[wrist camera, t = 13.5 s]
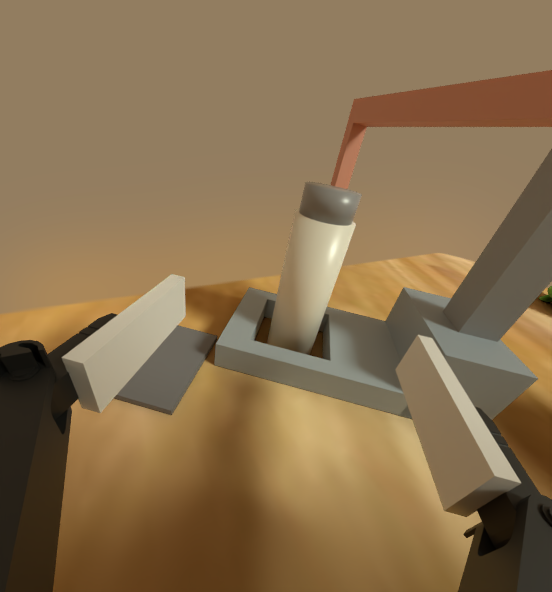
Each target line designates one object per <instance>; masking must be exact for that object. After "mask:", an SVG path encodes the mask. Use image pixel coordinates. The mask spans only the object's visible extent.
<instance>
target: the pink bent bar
mask: <svg viewBox="0 0 552 592" xmlns="http://www.w3.org/2000/svg"><path fill="white" fill-rule="evenodd" d="M366 127H552V70H550V71H543V72H536V73H529V74H522V75H515V76H509V77H502V78H495V79H488V80H481V81H474V82H468V83H461V84H455V85H447V86H440V87H434V88H427V89H420V90H413V91H407V92H400V93H394V94H387V95H380V96H372V97H366V98H360V99H354V102H353V105H352V109H351V112H350V116H349V120H348V124H347V127H346V131H345V134H344V138H343V142H342V145H341V149H340V153H339V156H338V160H337V163H336V167H335V171H334V175H333V178H332V182H331V185H332V186H336V187H340V188H344V189H348V186H349V182H350V179H351V176H352V173H353V170H354V166H355V163H356V159H357V156H358V153H359V150H360V147H361V144H362V140H363V137H364V134H365V131H366Z"/></svg>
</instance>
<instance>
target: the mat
mask: <svg viewBox="0 0 552 592" xmlns="http://www.w3.org/2000/svg"><path fill="white" fill-rule="evenodd" d="M216 340H217V336H216V335H212V334H208V333H204V332H201V331H197V330H193V329H189V328H186V327H182V326H178V325H177V326H176V328H175V329H174V330H173V331H172V332H171V333H170V334H169V336H168V337H167V338H166V339H165V340H164V341H163V342H162V344H161V345H160V346H159V347H158V348H157V349H156V350H155V352H154V353H153V354H152V355H151V356H150V357H149V358H148V360H147V361H146V362H145V363H144V364H143V365H142V366H141V367H140V369H139V370H138V371H137V372H136V373H135V374H134V375H133V377H132V378H131V379H130V380H129V381H128V382H127V383H126V385H125V386H124V387H123V388H122V389H121V390H120V391H119V393H118V394H117V395H116V396H115V397H114V398H115V399H118V400H122V401H125V402H129V403H132V404H136V405H139V406H142V407H146V408H149V409H153V410H156V411H160V412H163V413H167V414H170V415H172V413H173V412H174V410H175V409H176V407H177V405H178V404H179V402H180V400H181V399H182V397H183V395H184V394H185V392H186V390H187V389H188V387H189V385H190V384H191V382H192V380H193V379H194V377H195V375H196V374H197V372H198V370H199V369H200V367H201V365H202V364H203V362H204V360H205V359H206V357H207V355H208V354H209V352H210V350H211V349H212V347H213V345H214V344H215V342H216Z"/></svg>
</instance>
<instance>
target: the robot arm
mask: <svg viewBox="0 0 552 592" xmlns="http://www.w3.org/2000/svg"><path fill="white" fill-rule="evenodd" d="M185 316H186V313H185V277H181V276H177V275H173V274H171V275H170V276H169V277H167V278H166V279H165V280H163V281H162V282H161V283H159V284H158V285H157V286H156V287H154V288H153V289H152V290H150V291H149V292H148V293H146V294H145V295H144V296H142V297H141V298H140V299H138V300H137V301H136V302H134V303H133V304H132V305H130V306H129V307H128V308H126V309H125V310H124V311H122V312H121V313H120V314H118V315H117V314H113V313H111V314H108V315H106V316H103V317H101V318H98V319H97V320H96V321H94V322H93V323H91V324H90V325H89V326H88V327H86V328H84V329H83V330H81V331H80V332H79V334H76V335H74V336H73V337H72V338H70V339H69V340H67V341H66V342H65V343H63V344H62V345H60V346H59V347H57V348H56V349H55V350H53V351H52V352H50V353H49V354H48V355H47V353H46V351H45V348H44V346H43V344H41V343H40V342H38V341H33V340H25V341H18V342H14V343H10V344H7V345H5V346H2V347H0V592H53V583H54V573H55V564H56V555H57V545H58V536H59V527H60V517H61V508H62V499H63V489H64V480H65V470H66V461H67V452H68V442H69V433H70V424H71V414H72V410H71V405H72V404H73V403H74V402H75V401H76V400H77V399H79V402H80V404H81V407H82V408H84V409H88V410H91V411H95V412H98V413H101V412H102V411H103V410H104V409H105V407H106V406H107V405H108V404H109V403H110V402H111V401H112V399H113V398H114V397H115V396H116V395H117V394H118V393H119V391H120V390H121V389H122V388H123V387H124V386H125V385H126V383H127V382H128V381H129V380H130V379H131V378H132V377H133V375H134V374H135V373H136V372H137V371H138V370H139V369H140V367H141V366H142V365H143V364H144V363H145V362H146V361H147V360H148V358H149V357H150V356H151V355H152V354H153V353H154V352H155V350H156V349H157V348H158V347H159V346H160V345H161V344H162V342H163V341H164V340H165V339H166V338H167V337H168V336H169V334H170V333H171V332H172V331H173V330H174V329H175V328H176V326H177V325H178V324H179V323H180V322H181V321H182V320H183V318H184V317H185ZM395 370H396V373H397V376H398V379H399V382H400V385H401V388H402V390H403V393H404V396H405V399H406V402H407V405H408V408H409V411H410V413H411V416H412V419H413V422H414V425H415V428H416V431H417V434H418V436H419V439H420V442H421V445H422V448H423V451H424V454H425V457H426V460H427V462H428V465H429V468H430V471H431V474H432V477H433V480H434V483H435V485H436V488H437V491H438V494H439V497H440V500H441V503H442V506H443V508H444V511H447V512H450V513H454V514H457V515H461V516H464V517H467V516H469V515H470V514H472V513H474V512H475V511H478V513H479V516H480V518H481V520H482V522H481V523H479V524H477V525H475V526H474V527H472V528H470V529H468V530H466V532H465V533H464V534H463V535H464V536H465V537H466V538H468V537H470V536H472V535H474V538H473V541H472V545H471V548H470V552H469V555H468V559H467V562H466V566H465V569H464V573H463V576H462V580H461V583H460V587H459V590H458V592H552V500H551V499H550V498H548V497H546V496H543V495H541V494H540V493H539V491H538V490H537V488H536V487H535V485H534V484H533V482H532V481H531V479H530V478H529V476H528V474H527V473H526V471H525V470H524V468H523V467H522V465H521V464H520V462H519V461H518V459H517V458H516V456H515V454H514V453H513V451H512V450H511V448H509V447H508V444H507V442H506V441H505V439H504V438H503V437H502V436H501V433H500V431H499V430H498V428H497V427H496V425H495V424H494V422H493V421H492V420H491V419H490V418H489V417H488V416H487V415H486V414H485V413H484V412H483V410H482V409H481V408H478V407H474V405H473V404H472V402H471V400H470V399H469V397H468V396H467V394H466V392H465V391H464V389H463V387H462V386H461V384H460V383H459V381H458V379H457V378H456V376H455V374H454V373H453V371H452V370H451V368H450V366H449V365H448V363H447V361H446V360H445V358H444V357H443V355H442V353H441V352H440V350H439V348H438V347H437V345H436V344H435V342H434V340H433V339H432V338H429V337H425V336H421V335H417V337H416V338H415V340H414V341H413V343H412V344H411V346H410V348H409V349H408V351H407V352H406V354H405V355H404V357H403V358H402V360H401V362H400V363H399V365H398V366H397V368H396V369H395Z"/></svg>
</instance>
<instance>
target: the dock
mask: <svg viewBox="0 0 552 592" xmlns="http://www.w3.org/2000/svg"><path fill="white" fill-rule="evenodd" d="M551 281H552V149H551V151H550V152H549V154H548V155H547V157H546V158H545V160H544V161H543V163H542V164H541V166H540V167H539V169H538V170H537V171H536V173H535V175H534V176H533V177H532V179H531V180H530V182H529V184H528V185H527V187H526V188H525V189H524V191H523V192H522V194H521V195H520V197H519V199H518V200H517V201H516V203H515V204H514V206H513V207H512V209H511V210H510V212H509V214H508V215H507V216H506V218H505V220H504V221H503V222H502V224H501V225H500V227H499V228H498V230H497V231H496V233H495V234H494V236H493V237H492V239H491V240H490V242H489V243H488V245H487V246H486V248H485V249H484V251H483V252H482V254H481V255H480V257H479V258H478V260H477V261H476V262H475V264H474V265H473V267H472V268H471V270H470V271H469V273H468V274H467V276H466V277H465V279H464V280H463V282H462V283H461V285H460V286H459V288H458V289H457V291H456V292H455V294H454V295H453V297H452V298H447V297H442V296H438V295H434V294H430V293H426V292H422V291H417V290H413V289H409V288H405V287H404V288H403V289H402V291H401V293H400V295H399V297H398V299H397V301H396V303H395V304H394V306H393V308H392V310H391V312H390V314H389V316H388V318H387V320H386V321H382V320H378V319H374V318H370V317H366V316H362V315H358V314H354V313H350V312H346V311H342V310H338V309H334V308H330V307H327V308H326V310H325V313H324V316H323V319H322V322H321V325H320V327H319V330H318V331H321V332H323V359H322V358H318V357H314V356H310V355H307V354H303V353H299V352H295V351H291V350H288V349H284V348H280V347H276V346H272V345H269V344H265V343H261V342H257V341H255V338H256V336H257V333H258V331H259V328H260V326H261V323H262V320H263V318H264V317H267V318H270V319H272V316H273V312H274V307H275V302H276V298H277V294H274V293H270V292H266V291H262V290H258V289H254V288H250V287H249V289H248V290H247V292H246V294H245V295H244V297H243V299H242V300H241V302H240V304H239V306H238V307H237V309H236V311H235V312H234V314H233V316H232V317H231V319H230V321H229V322H228V324H227V326H226V327H225V329H224V331H223V332H222V334H221V336H220V338H219V339H218V341H217V343H216V348H215V364H214V365H216V366H220V367H223V368H227V369H231V370H234V371H238V372H242V373H245V374H249V375H253V376H256V377H260V378H264V379H267V380H271V381H275V382H278V383H282V384H286V385H289V386H293V387H297V388H300V389H304V390H308V391H311V392H315V393H319V394H322V395H326V396H330V397H333V398H337V399H341V400H344V401H348V402H352V403H355V404H359V405H363V406H366V407H370V408H374V409H377V410H381V411H385V412H388V413H392V414H396V415H399V416H403V417H407V418H410V419H412V416H411V413H410V411H409V408H408V405H407V402H406V399H405V396H404V393H403V390H402V388H401V385H400V382H399V379H398V376H397V373H396V370H395V369H396V368H397V366H398V365H399V363H400V362H401V360H402V358H403V357H404V355H405V354H406V352H407V351H408V349H409V348H410V346H411V344H412V343H413V341H414V340H415V338H416V337H417V335H421V336H425V337H429V338H432V339H433V340H434V342H435V344H436V345H437V347H438V348H439V350H440V352H441V353H442V355H443V357H444V358H445V360H446V361H447V363H448V365H449V366H450V368H451V370H452V371H453V373H454V374H455V376H456V378H457V379H458V381H459V383H460V384H461V386H462V387H463V389H464V391H465V392H466V394H467V396H468V397H469V399H470V400H471V402H472V404H473V405H474V407H478V408H481V409H482V410H483V412H484V413H485V414H486V415H487V416H488V417H489V418H490V419H491V420H492V419H493V418H494V417H496V416H497V415H498V414H499V413H500V412H501V411H502V410H504V409H505V408H506V407H507V406H508V405H509V404H510V403H511V402H513V401H514V400H515V399H516V398H517V397H518V396H519V395H521V394H522V393H523V392H524V391H525V390H526V389H527V388H529V387H530V386H531V385H532V384H533V383H534V382H535V381H536V380H538V378H537V377H536V376H535V375H534V374H533V373H532V372H531V371H530V370H529V369H528V368H527V367H526V366H525V365H524V364H523V362H522V361H521V360H520V359H519V358H518V357H517V356H516V355H515V354H514V353H513V352H512V351H511V350H510V349H509V348H508V347H507V346H506V345H505V344H504V343H503V342H502V341H501V340H500V339H501V337H502V336H503V335H504V334H505V333H506V332H507V331H508V330H509V328H510V327H511V326H512V325H513V324H514V323H515V322H516V321H517V319H518V318H519V317H520V316H521V315H522V314H523V313H524V312H525V311H526V309H527V308H528V307H529V306H530V305H531V304H532V303H533V302H534V300H535V299H536V298H537V297H538V296H539V295H540V294H541V293H542V291H543V290H544V289H545V288H546V287H547V286H548V285H549V284H550V282H551Z"/></svg>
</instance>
